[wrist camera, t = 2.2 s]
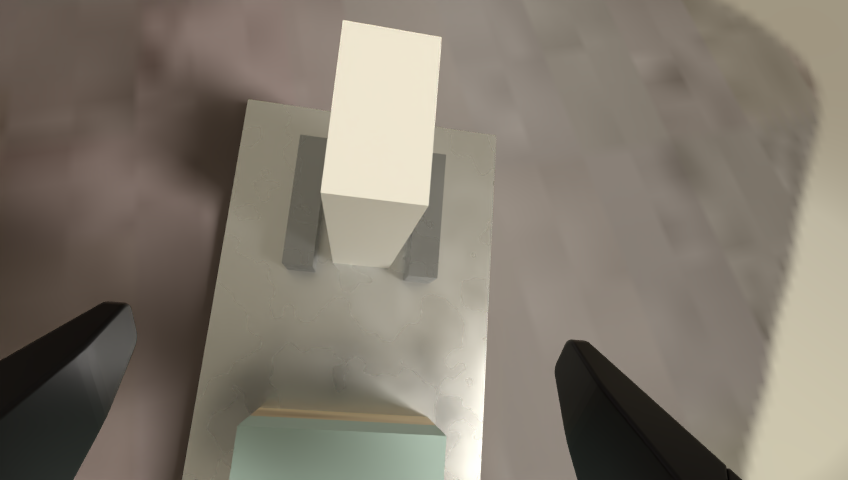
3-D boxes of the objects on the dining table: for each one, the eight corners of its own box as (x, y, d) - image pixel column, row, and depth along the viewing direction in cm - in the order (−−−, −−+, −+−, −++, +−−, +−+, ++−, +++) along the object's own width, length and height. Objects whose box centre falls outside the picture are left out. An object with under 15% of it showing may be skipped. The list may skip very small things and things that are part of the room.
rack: (470, 549, 20) (491, 584, 17) (177, 545, 18) (146, 584, 16) (490, 143, 24) (510, 117, 21) (252, 109, 23) (238, 75, 20)
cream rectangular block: (388, 268, 21) (428, 205, 11) (332, 262, 21) (320, 192, 11) (397, 175, 22) (441, 37, 12) (344, 168, 22) (342, 20, 12)
